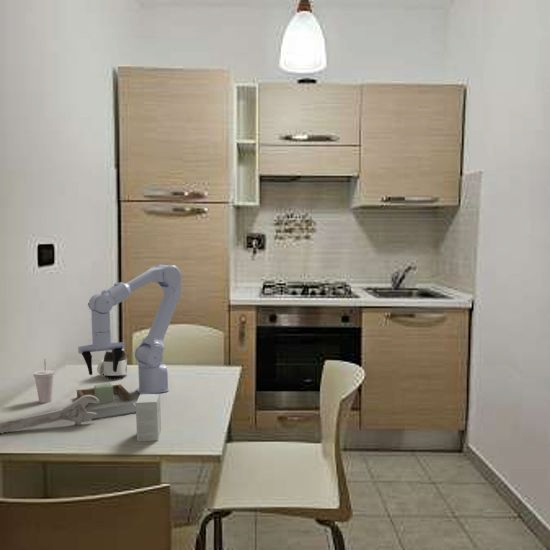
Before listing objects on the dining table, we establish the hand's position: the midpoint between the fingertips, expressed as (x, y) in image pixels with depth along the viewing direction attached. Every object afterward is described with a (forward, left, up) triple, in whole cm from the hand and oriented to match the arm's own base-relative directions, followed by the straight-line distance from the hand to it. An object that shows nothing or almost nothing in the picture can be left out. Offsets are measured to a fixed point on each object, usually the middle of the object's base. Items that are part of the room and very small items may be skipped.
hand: (102, 372), depth 188 cm
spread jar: (-9, -31, -10) cm, 34 cm away
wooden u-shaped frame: (0, -2, -9) cm, 9 cm away
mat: (0, +14, -9) cm, 17 cm away
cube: (0, 0, -9) cm, 9 cm away
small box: (-4, +40, -10) cm, 41 cm away
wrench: (+20, +19, -10) cm, 29 cm away
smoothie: (+17, -9, -9) cm, 21 cm away
